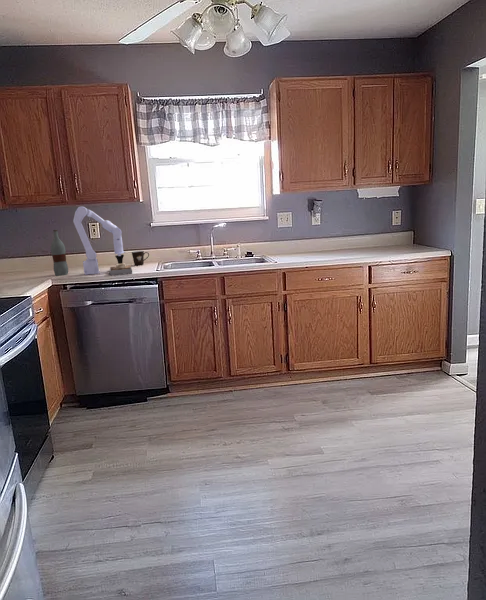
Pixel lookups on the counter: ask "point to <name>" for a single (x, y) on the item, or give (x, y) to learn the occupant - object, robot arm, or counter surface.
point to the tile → (120, 265)
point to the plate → (120, 268)
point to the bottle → (59, 256)
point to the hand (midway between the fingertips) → (120, 265)
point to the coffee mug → (139, 257)
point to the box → (120, 272)
